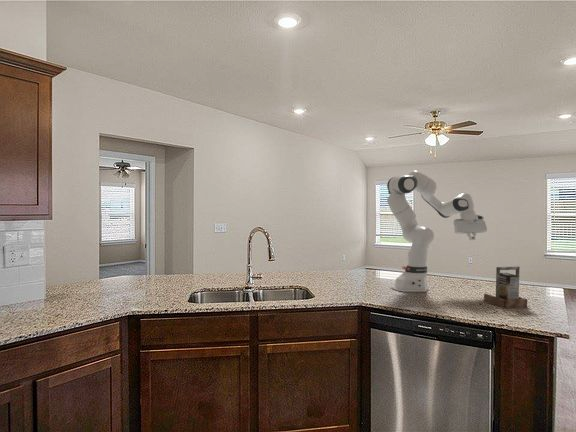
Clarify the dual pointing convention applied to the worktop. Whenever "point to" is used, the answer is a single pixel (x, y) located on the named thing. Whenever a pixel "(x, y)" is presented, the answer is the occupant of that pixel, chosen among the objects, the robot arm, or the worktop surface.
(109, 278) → the worktop surface
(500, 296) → the coffee box
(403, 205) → the robot arm
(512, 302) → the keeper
